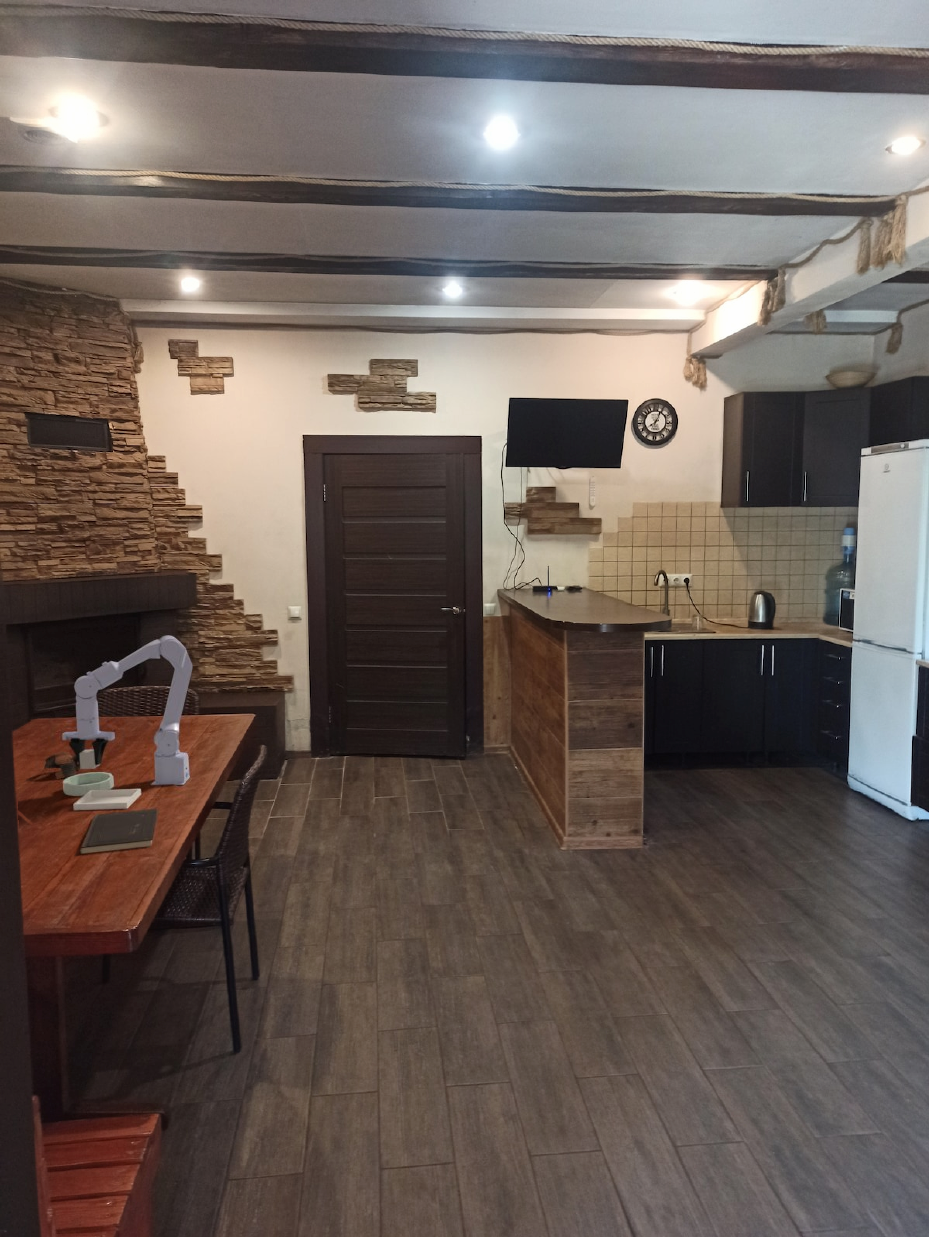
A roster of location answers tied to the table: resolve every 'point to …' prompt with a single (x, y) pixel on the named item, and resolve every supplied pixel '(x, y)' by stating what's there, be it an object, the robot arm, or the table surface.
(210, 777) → the table surface
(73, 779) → the bowl
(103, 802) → the tray
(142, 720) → the table surface
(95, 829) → the hardcover book
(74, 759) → the pottery mug
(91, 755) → the block
